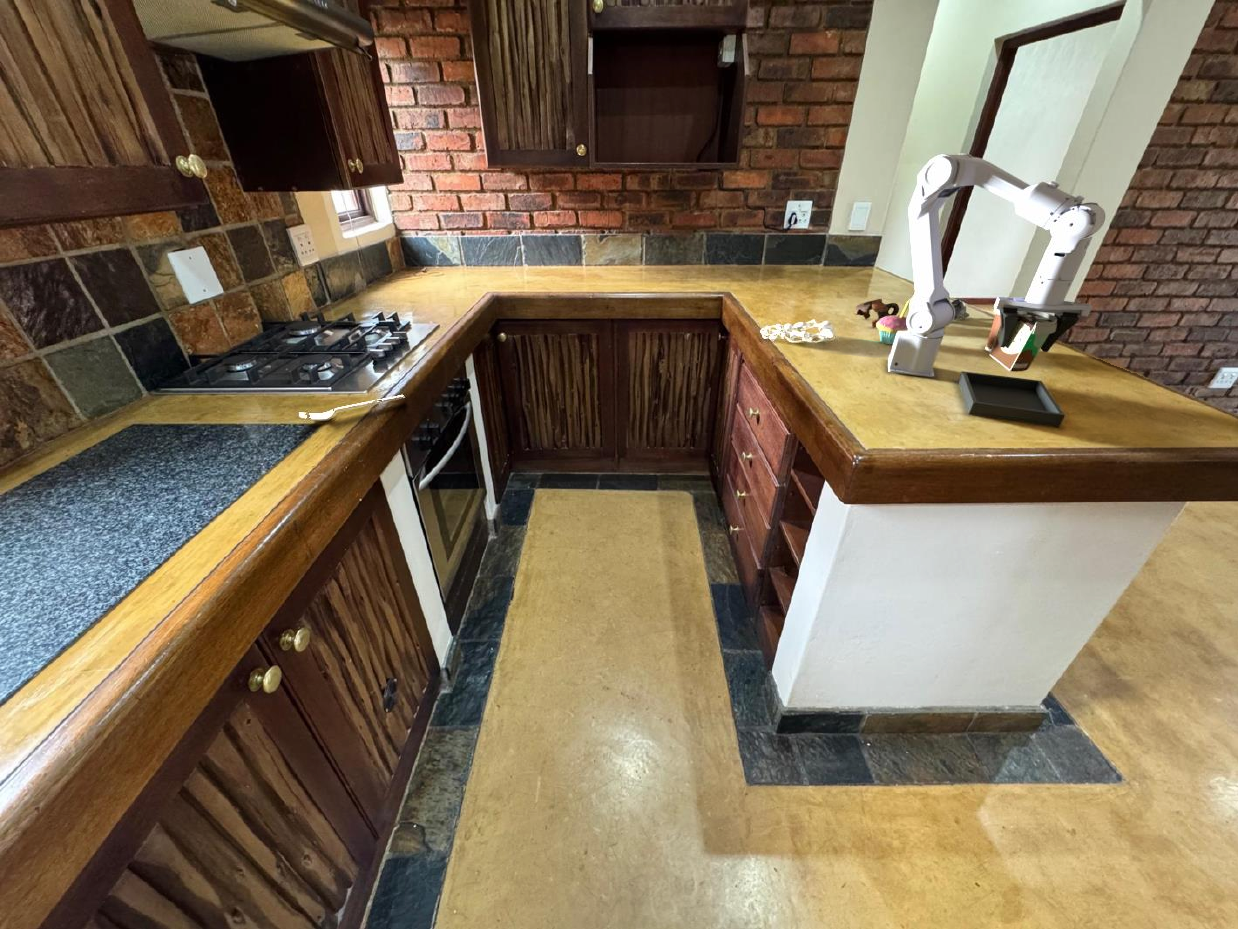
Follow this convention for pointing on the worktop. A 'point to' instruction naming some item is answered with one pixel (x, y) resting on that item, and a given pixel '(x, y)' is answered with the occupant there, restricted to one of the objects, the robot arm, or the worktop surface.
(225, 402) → the worktop surface
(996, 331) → the coffee cup
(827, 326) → the tangled rod sculpture
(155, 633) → the worktop surface
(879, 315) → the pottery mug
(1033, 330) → the food container
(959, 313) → the snack package
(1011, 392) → the tray
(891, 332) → the cupcake
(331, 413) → the fork
